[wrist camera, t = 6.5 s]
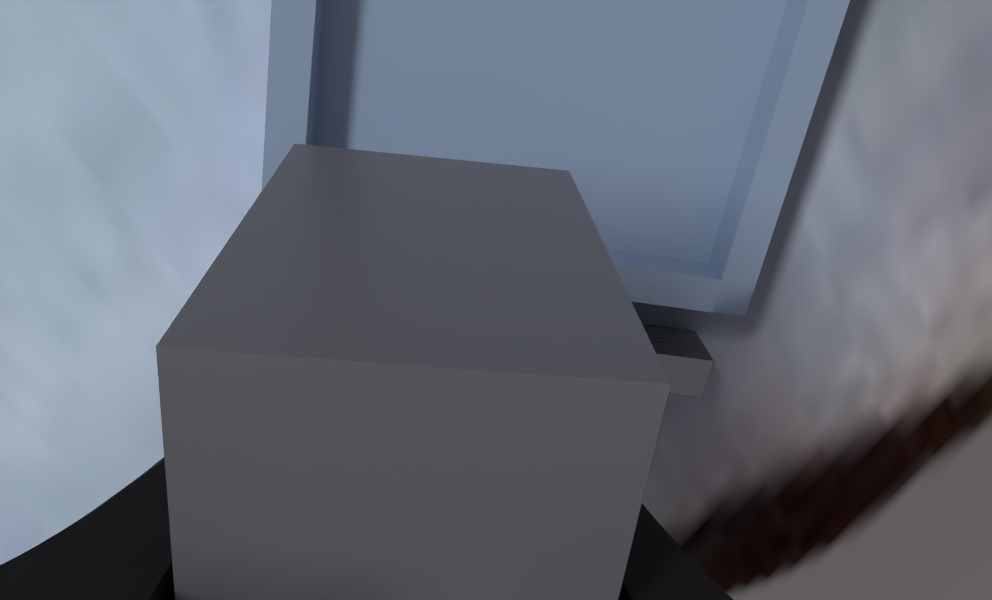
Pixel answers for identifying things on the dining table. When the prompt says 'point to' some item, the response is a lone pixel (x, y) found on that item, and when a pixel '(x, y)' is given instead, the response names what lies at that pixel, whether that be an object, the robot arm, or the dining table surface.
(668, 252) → the tray
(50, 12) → the dining table surface
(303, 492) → the grey bar
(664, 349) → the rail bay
